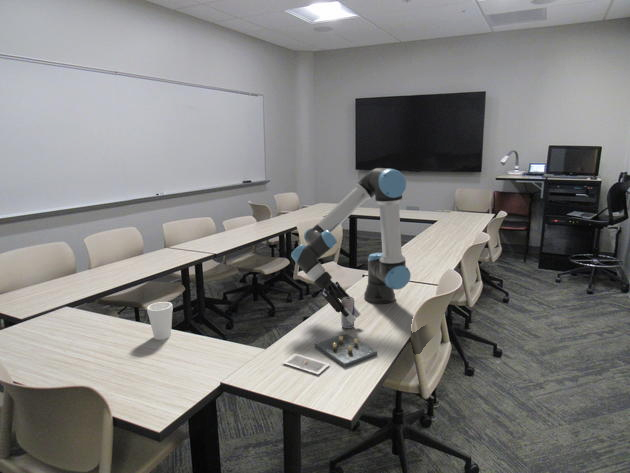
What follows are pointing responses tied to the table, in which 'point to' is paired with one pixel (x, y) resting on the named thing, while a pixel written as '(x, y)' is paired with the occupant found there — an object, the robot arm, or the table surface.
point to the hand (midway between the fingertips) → (356, 318)
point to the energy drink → (349, 304)
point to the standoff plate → (345, 350)
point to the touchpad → (306, 363)
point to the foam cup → (160, 319)
